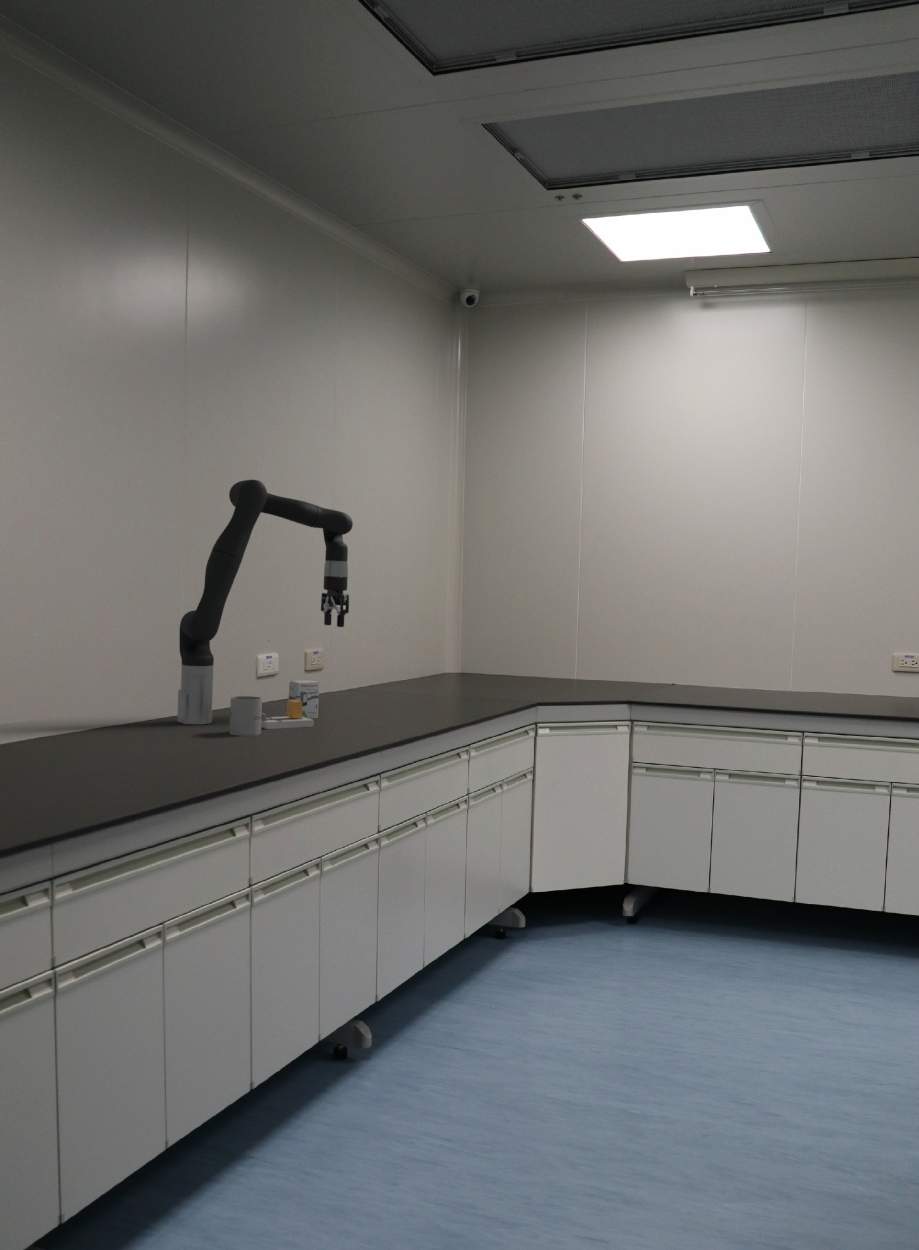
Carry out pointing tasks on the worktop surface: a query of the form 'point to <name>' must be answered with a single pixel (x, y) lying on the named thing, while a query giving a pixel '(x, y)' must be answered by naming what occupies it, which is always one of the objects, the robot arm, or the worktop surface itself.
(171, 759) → the worktop surface
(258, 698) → the mug
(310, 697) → the ink box
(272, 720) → the console
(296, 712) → the orange block
